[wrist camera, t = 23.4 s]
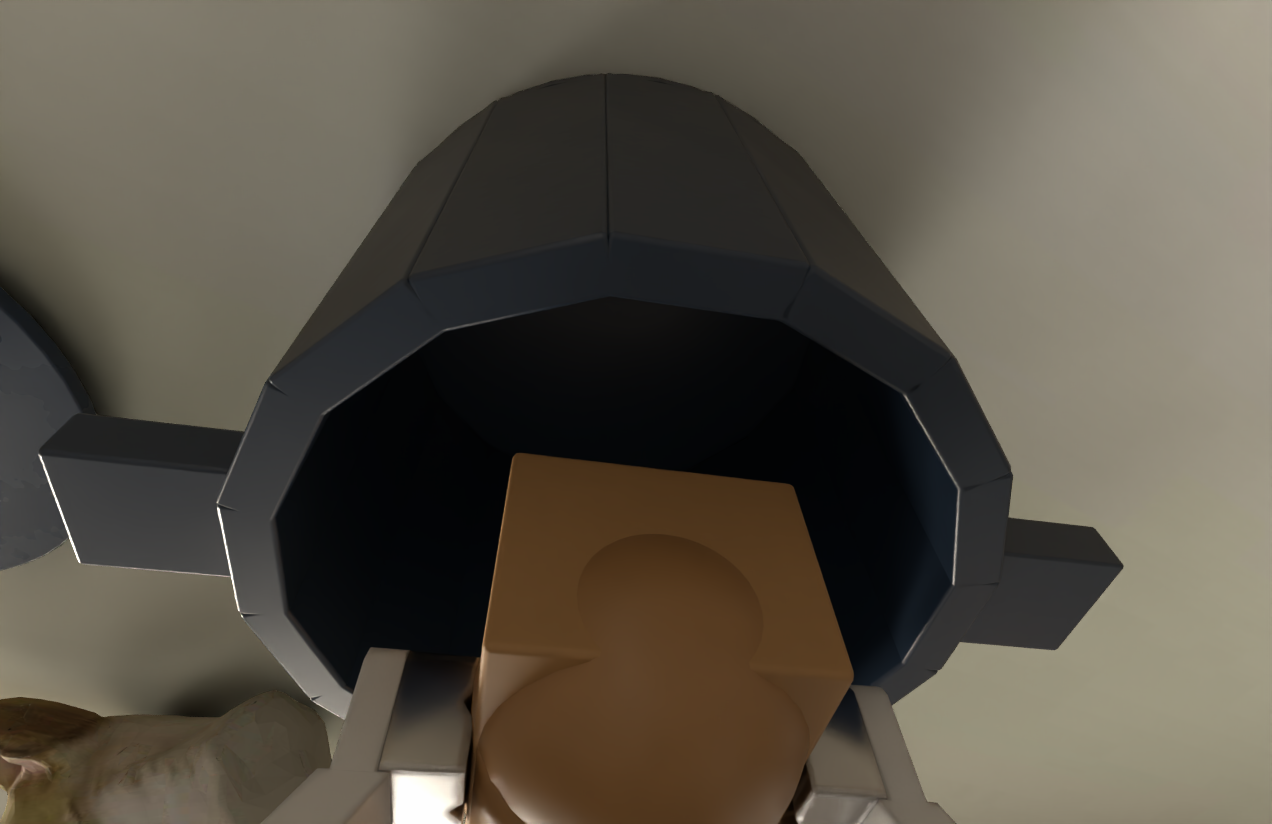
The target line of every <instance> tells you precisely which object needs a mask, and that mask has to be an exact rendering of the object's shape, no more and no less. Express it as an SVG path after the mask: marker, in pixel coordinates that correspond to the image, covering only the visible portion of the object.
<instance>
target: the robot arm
mask: <svg viewBox="0 0 1272 824" xmlns="http://www.w3.org/2000/svg"><path fill="white" fill-rule="evenodd" d="M479 661H480V657H474V656H463V655H452V654H441V653H430V652H419V651H410V650H401V649H388V648H374V647H370V649H369V651H368V653H367V655H366V656H365V658H364V661H363V664H362V667H361V670H360V673H359V676H358V680H357V683H356V686H355V689H354V692H353V696H352V699H351V702H350V705H349V708H348V711H347V715H346V718H345V721H344V724H343V727H342V730H341V734H340V737H339V740H338V743H337V746H336V750H335V753H334V756H333V759H332V762H331V765H330V768H317V769H316V770H315V771H314V772H313V773H312V774H311V775H310V776H309V777H308V778H307V779H306V780H305V781H304V782H303V783H302V784H301V785H300V786H299V787H297V788H296V789H295V790H294V791H293V792H292V793H291V794H290V795H289V796H288V797H287V798H286V799H285V800H284V801H283V802H282V803H281V804H280V805H279V806H278V807H277V808H276V809H275V810H274V811H273V812H272V813H271V814H270V815H269V816H268V817H267V818H266V819H264V820H263V821H262V822H261V823H260V824H462V823H463V817H464V810H465V804H466V795H467V785H468V768H469V762H470V752H471V740H472V728H473V726H472V716H471V707H472V695H473V684H474V680H475V675H476V671H477V667H478V664H479ZM778 824H956V823H955V821H954V820H953V819H952V818H951V817H950V816H949V815H948V814H947V813H946V812H945V811H944V810H943V809H942V808H941V807H940V806H939V804H938V803H934V802H927V801H926V798H925V795H924V793H923V790H922V787H921V784H920V782H919V779H918V776H917V774H916V771H915V768H914V765H913V763H912V760H911V757H910V755H909V752H908V749H907V746H906V744H905V741H904V738H903V735H902V733H901V730H900V727H899V725H898V722H897V719H896V716H895V714H894V711H893V708H892V705H891V703H890V700H889V697H888V695H887V694H886V692H885V691H884V690H883V689H882V688H880V687H877V686H863V685H850V687H849V689H848V690H847V692H846V694H845V695H844V697H843V699H842V701H841V702H840V704H839V706H838V708H837V709H836V711H835V713H834V714H833V716H832V718H831V720H830V721H829V723H828V725H827V727H826V728H825V730H824V732H823V733H822V735H821V737H820V739H819V740H818V742H817V744H816V745H815V747H814V749H813V751H812V752H811V754H810V756H809V758H808V759H807V761H806V763H805V764H804V768H803V771H802V774H801V777H800V780H799V783H798V785H797V788H796V791H795V794H794V796H793V798H792V800H791V802H790V804H789V806H788V808H787V810H786V812H785V813H784V815H783V817H782V818H781V820H780V822H779V823H778Z"/></svg>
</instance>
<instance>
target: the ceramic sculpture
mask: <svg viewBox="0 0 1272 824" xmlns="http://www.w3.org/2000/svg"><path fill="white" fill-rule="evenodd" d="M331 762H332V759H331V754H330V747H329V741H328V735H327V731H326V727H325V723H324V721H323V720H322V719H321V718H320V716H319V715H318V714H317V712H316V711H315V710H313V709H311V708H309V707H307V706H305V705H304V704H302V703H300V702H297V701H295V700H294V699H292V698H291V697H290V696H288V695H287V694H286V693H283V692H280V691H276V690H272V691H268V692H264V693H262V694H259V695H256V696H254V697H252V698H250V699H249V700H247V701H245V702H243V703H242V704H240V705H238V706H237V707H235V708H233V709H232V710H230V711H229V712H227V713H226V714H224V715H223V716H221V717H185V716H179V715H139V714H137V715H121V716H108V717H101V716H99V715H98V714H96V713H94V712H90V711H87V710H84V709H80V708H77V707H73V706H70V705H66V704H62V703H59V702H53V701H47V700H42V699H33V698H24V697H17V698H8V699H1V700H0V788H1V789H3V790H5V791H7V795H8V800H7V806H6V809H5V812H4V814H3V816H2V818H1V820H0V824H260V823H261V822H262V821H263V820H264V819H266V818H267V817H268V816H269V815H270V814H271V813H272V812H273V811H274V810H275V809H276V808H277V807H278V806H279V805H280V804H281V803H282V802H283V801H284V800H285V799H286V798H287V797H288V796H289V795H290V794H291V793H292V792H293V791H294V790H295V789H296V788H297V787H299V786H300V785H301V784H302V783H303V782H304V781H305V780H306V779H307V778H308V777H309V776H310V775H311V774H312V773H313V772H314V771H315V770H316V769H317V768H330V765H331Z"/></svg>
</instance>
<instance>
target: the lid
mask: <svg viewBox="0 0 1272 824" xmlns="http://www.w3.org/2000/svg"><path fill="white" fill-rule="evenodd" d="M78 413H85V414H93V415H96V412H95V410H94V407H93V404H92V402H91V399H90V397H89V395H88V394H87V392H86V390H85V388H84V386H83V384H82V383H81V381H80V379H79V377H78V375H77V374H76V372H75V370H74V369H73V367H72V366H71V365H70V363H69V362H68V360H67V359H66V358H65V356H64V355H63V353H62V352H61V351H60V349H59V348H58V346H57V345H56V344H55V343H54V341H53V340H52V339H51V338H50V337H49V336H48V335H47V333H46V332H45V331H44V330H43V329H42V328H41V327H40V325H39V324H38V323H37V322H36V321H35V320H34V319H33V317H32V316H31V315H30V314H29V313H28V312H27V311H26V310H25V309H23V308H22V307H21V306H20V305H19V304H18V303H17V302H16V301H15V300H14V299H13V298H12V297H11V296H10V295H9V294H8V293H7V292H6V291H5V290H3V289H2V288H1V287H0V571H1V570H5V569H9V568H13V567H17V566H21V565H23V564H26V563H28V562H31V561H33V560H36V559H38V558H41V557H43V556H45V555H46V554H48V553H50V552H51V551H53V550H55V549H56V548H58V547H59V546H61V545H62V544H63V543H64V542H66V541H67V540H68V539H69V535H68V533H67V530H66V527H65V525H64V522H63V519H62V517H61V514H60V511H59V509H58V506H57V503H56V501H55V498H54V495H53V493H52V490H51V487H50V485H49V482H48V479H47V477H46V474H45V471H44V469H43V466H42V463H41V460H40V458H39V455H38V453H39V449H40V448H41V447H42V446H43V445H44V444H45V443H46V442H47V441H48V440H49V439H50V438H51V437H52V436H53V435H54V434H55V433H56V432H57V431H58V430H59V429H60V428H61V427H62V426H63V425H64V424H65V423H66V422H67V421H68V420H69V419H70V418H71V417H72V416H73V415H75V414H78Z"/></svg>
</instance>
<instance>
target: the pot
mask: <svg viewBox="0 0 1272 824" xmlns="http://www.w3.org/2000/svg"><path fill="white" fill-rule="evenodd" d="M516 453H528V454H537V455H545V456H554V457H563V458H571V459H580V460H588V461H597V462H606V463H614V464H623V465H631V466H640V467H649V468H657V469H666V470H674V471H683V472H692V473H700V474H709V475H718V476H726V477H735V478H743V479H752V480H761V481H769V482H778V483H786V484H790V485H792V486H793V487H794V490H795V493H796V496H797V499H798V502H799V505H800V508H801V511H802V514H803V517H804V521H805V524H806V527H807V530H808V533H809V536H810V539H811V542H812V545H813V548H814V551H815V554H816V557H817V561H818V564H819V567H820V570H821V573H822V576H823V579H824V582H825V585H826V588H827V591H828V594H829V598H830V601H831V604H832V607H833V610H834V613H835V616H836V619H837V622H838V625H839V628H840V631H841V635H842V638H843V641H844V644H845V647H846V650H847V653H848V656H849V659H850V662H851V665H852V668H853V672H854V678H853V682H852V683H851V685H863V686H877V687H880V688H882V689H883V690H884V691H885V692H886V694H887V695H888V697H889V700H890V703H891V705H893V704H895V703H896V702H897V701H899V700H900V699H902V698H903V697H904V696H906V695H907V694H909V693H910V692H911V691H913V690H914V689H915V688H917V687H918V686H920V685H921V684H922V683H924V682H925V681H927V680H928V679H929V678H931V677H932V676H934V675H935V674H936V673H937V672H938V671H937V670H940V669H942V667H943V666H944V664H945V663H946V661H947V660H948V658H949V657H950V655H951V654H952V653H953V651H954V650H955V648H956V647H957V645H958V644H959V642H967V643H978V644H990V645H1001V646H1013V647H1024V648H1035V649H1047V650H1056V649H1058V647H1059V646H1060V645H1061V644H1062V642H1063V641H1064V640H1065V639H1066V638H1067V636H1068V635H1069V634H1070V633H1071V631H1072V630H1073V629H1074V628H1075V627H1076V625H1077V624H1078V623H1079V622H1080V620H1081V619H1082V618H1083V617H1084V615H1085V614H1086V613H1087V612H1088V611H1089V609H1090V608H1091V607H1092V606H1093V604H1094V603H1095V602H1096V601H1097V600H1098V598H1099V597H1100V596H1101V595H1102V593H1103V592H1104V591H1105V590H1106V588H1107V587H1108V586H1109V585H1110V584H1111V582H1112V581H1113V580H1114V579H1115V577H1116V576H1117V575H1118V574H1119V573H1120V571H1121V570H1122V569H1123V564H1122V563H1121V561H1120V560H1119V559H1118V557H1117V556H1116V555H1115V554H1114V552H1113V551H1112V550H1111V548H1110V547H1109V546H1108V545H1107V543H1106V542H1105V541H1104V539H1103V538H1102V537H1101V536H1100V534H1099V533H1098V532H1097V530H1096V529H1095V528H1093V527H1087V526H1078V525H1069V524H1060V523H1052V522H1043V521H1034V520H1025V519H1016V518H1008V515H1009V506H1010V497H1011V489H1012V480H1013V474H1012V472H1011V465H1010V463H1009V461H1008V460H1007V458H1006V456H1005V454H1004V452H1003V450H1002V448H1001V446H1000V444H999V442H998V440H997V438H996V436H995V434H994V432H993V430H992V428H991V426H990V424H989V422H988V420H987V418H986V416H985V414H984V412H983V410H982V408H981V406H980V404H979V402H978V400H977V398H976V396H975V394H974V393H973V391H972V389H971V387H970V385H969V383H968V381H967V379H966V377H965V375H964V373H963V371H962V369H961V367H960V365H959V363H958V361H957V359H956V358H955V356H954V355H953V354H952V352H951V351H950V350H949V348H948V347H947V346H946V345H945V343H944V342H943V341H942V339H941V338H940V337H939V335H938V334H937V333H936V331H935V330H934V329H933V328H932V326H931V325H930V324H929V322H928V321H927V320H926V318H925V317H924V316H923V314H922V313H921V312H920V311H919V309H918V308H917V307H916V305H915V304H914V303H913V301H912V300H911V299H910V297H909V296H908V295H907V294H906V292H905V291H904V290H903V288H902V287H901V286H900V284H899V283H898V282H897V281H896V279H895V278H894V277H893V275H892V274H891V273H890V271H889V270H888V269H887V267H886V266H885V265H884V264H883V262H882V261H881V260H880V258H879V257H878V256H877V254H876V253H875V252H874V250H873V249H872V248H871V247H870V245H869V244H868V243H867V241H866V240H865V239H864V237H863V236H862V235H861V233H860V232H859V231H858V230H857V228H856V227H855V226H854V224H853V223H852V222H851V220H850V219H849V218H848V216H847V215H846V214H845V213H844V211H843V210H842V209H841V207H840V206H839V205H838V203H837V202H836V201H835V199H834V198H833V197H832V196H831V194H830V193H829V192H828V190H827V189H826V188H825V186H824V185H823V184H822V182H821V181H820V180H819V179H818V177H817V176H816V175H815V173H814V172H813V171H812V169H811V168H810V167H809V165H808V164H807V163H806V162H805V160H804V159H803V158H802V157H801V156H800V155H799V153H798V152H797V151H796V150H794V149H793V148H792V147H790V146H789V145H787V144H786V143H785V142H783V141H782V140H780V139H779V138H778V137H777V136H776V135H774V134H773V133H772V132H771V131H770V130H768V129H767V128H766V127H765V126H763V125H762V124H761V123H760V122H759V121H757V120H756V119H755V118H754V117H752V116H750V115H749V114H747V113H745V112H744V111H742V110H740V109H739V108H737V107H735V106H734V105H732V104H731V103H729V102H727V101H726V100H724V99H723V98H721V97H720V96H719V95H714V94H713V93H712V92H707V91H702V90H700V89H697V88H695V87H692V86H688V85H684V84H680V83H677V82H673V81H669V80H665V79H662V78H656V77H647V76H638V75H630V74H611V73H608V74H597V75H583V76H577V77H572V78H566V79H560V80H554V81H550V82H547V83H544V84H541V85H538V86H535V87H532V88H528V89H525V90H522V91H519V92H517V93H515V94H513V95H511V96H508V97H504V98H500V99H499V100H498V101H494V102H493V103H491V104H490V105H489V106H488V107H486V108H485V109H484V110H482V111H481V112H479V113H478V114H476V115H475V116H474V117H472V118H471V119H469V120H468V121H466V122H465V123H463V124H462V125H461V126H459V127H458V128H457V129H456V130H455V131H454V132H453V133H452V134H451V135H450V136H448V137H447V138H446V139H445V140H444V141H443V142H442V143H441V144H440V145H439V146H438V147H437V148H436V149H434V150H433V151H432V152H431V153H429V154H428V155H427V156H426V157H424V158H423V159H422V160H421V161H419V162H418V163H417V165H416V166H415V167H414V169H413V170H412V171H411V173H410V174H409V176H408V177H407V179H406V180H405V182H404V183H403V184H402V186H401V187H400V189H399V190H398V192H397V193H396V195H395V196H394V197H393V199H392V200H391V202H390V203H389V205H388V206H387V207H386V209H385V210H384V212H383V213H382V215H381V216H380V218H379V219H378V220H377V222H376V223H375V225H374V226H373V228H372V229H371V231H370V232H369V233H368V235H367V236H366V238H365V239H364V241H363V242H362V244H361V245H360V246H359V248H358V249H357V251H356V252H355V254H354V255H353V257H352V258H351V259H350V261H349V262H348V264H347V265H346V267H345V268H344V270H343V271H342V272H341V274H340V275H339V277H338V278H337V280H336V281H335V283H334V284H333V285H332V287H331V288H330V290H329V291H328V293H327V294H326V296H325V297H324V298H323V300H322V301H321V303H320V304H319V306H318V307H317V308H316V310H315V311H314V313H313V314H312V316H311V317H310V319H309V320H308V321H307V323H306V324H305V326H304V327H303V329H302V330H301V332H300V333H299V334H298V336H297V337H296V339H295V340H294V342H293V343H292V345H291V346H290V347H289V349H288V350H287V352H286V353H285V355H284V356H283V358H282V359H281V360H280V362H279V363H278V365H277V366H276V368H275V369H274V371H273V372H272V373H271V375H270V376H269V378H268V379H267V381H266V382H265V384H264V386H263V389H262V391H261V394H260V396H259V398H258V401H257V403H256V406H255V408H254V410H253V413H252V415H251V417H250V420H249V422H248V425H247V427H246V429H245V432H243V431H235V430H226V429H217V428H208V427H199V426H191V425H182V424H173V423H164V422H155V421H146V420H138V419H129V418H120V417H111V416H102V415H93V414H85V413H78V414H75V415H73V416H72V417H71V418H70V419H69V420H68V421H67V422H66V423H65V424H64V425H63V426H62V427H61V428H60V429H59V430H58V431H57V432H56V433H55V434H54V435H53V436H52V437H51V438H50V439H49V440H48V441H47V442H46V443H45V444H44V445H43V446H42V447H41V448H40V449H39V453H38V455H39V458H40V460H41V463H42V466H43V469H44V471H45V474H46V477H47V479H48V482H49V485H50V487H51V490H52V493H53V495H54V498H55V501H56V503H57V506H58V509H59V511H60V514H61V517H62V519H63V522H64V525H65V527H66V530H67V533H68V535H69V538H70V541H71V543H72V546H73V549H74V552H75V554H76V557H77V560H78V562H80V563H81V564H84V565H95V566H107V567H118V568H129V569H141V570H152V571H164V572H175V573H187V574H198V575H209V576H221V577H231V578H232V583H233V588H234V593H235V598H236V603H237V608H238V611H239V612H240V613H241V617H242V619H243V620H244V621H245V622H246V623H247V625H248V626H249V627H250V628H251V629H252V631H253V632H254V633H255V634H256V635H257V637H258V638H259V639H260V640H261V641H262V643H263V644H264V645H265V646H266V647H267V649H268V650H269V651H270V652H271V653H272V655H273V656H274V657H275V658H276V659H277V661H278V662H279V663H280V664H281V665H282V667H283V668H284V669H285V670H286V671H287V673H288V674H289V675H290V676H291V677H292V679H293V680H294V681H295V682H296V683H297V685H298V686H299V687H300V688H301V689H302V691H303V692H304V693H305V694H306V695H307V696H308V697H311V701H312V702H314V703H316V704H318V705H319V706H321V707H323V708H324V709H326V710H328V711H330V712H331V713H333V714H335V715H336V716H338V717H340V718H342V719H343V720H345V718H346V715H347V711H348V708H349V705H350V702H351V699H352V696H353V692H354V689H355V686H356V683H357V680H358V676H359V673H360V670H361V667H362V664H363V661H364V658H365V656H366V655H367V653H368V651H369V649H370V647H374V648H388V649H401V650H410V651H419V652H430V653H441V654H452V655H463V656H474V657H481V652H482V643H483V637H484V631H485V625H486V618H487V612H488V606H489V600H490V594H491V587H492V581H493V575H494V569H495V563H496V557H497V550H498V544H499V538H500V532H501V526H502V519H503V513H504V507H505V501H506V495H507V488H508V482H509V476H510V470H511V464H512V458H513V457H514V455H515V454H516Z"/></svg>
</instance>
